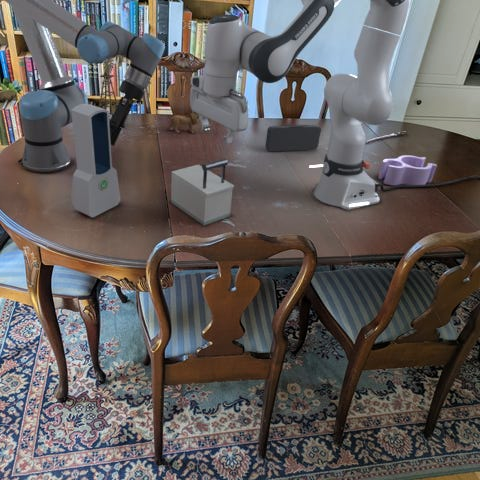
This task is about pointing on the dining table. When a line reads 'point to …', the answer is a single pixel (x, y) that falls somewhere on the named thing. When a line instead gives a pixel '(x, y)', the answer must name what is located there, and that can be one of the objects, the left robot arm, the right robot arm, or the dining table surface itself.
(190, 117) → the lion figurine
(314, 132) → the handheld gaming console
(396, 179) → the clip
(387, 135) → the sword
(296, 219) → the dining table surface
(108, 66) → the miniature windmill
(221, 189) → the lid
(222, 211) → the chest
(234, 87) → the right robot arm
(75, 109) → the electronic device
